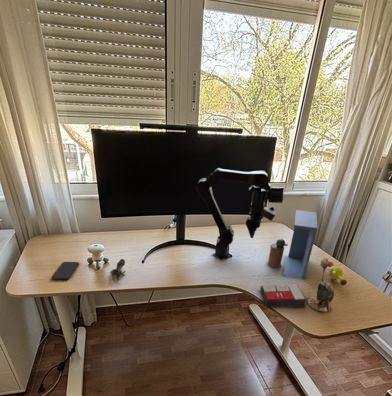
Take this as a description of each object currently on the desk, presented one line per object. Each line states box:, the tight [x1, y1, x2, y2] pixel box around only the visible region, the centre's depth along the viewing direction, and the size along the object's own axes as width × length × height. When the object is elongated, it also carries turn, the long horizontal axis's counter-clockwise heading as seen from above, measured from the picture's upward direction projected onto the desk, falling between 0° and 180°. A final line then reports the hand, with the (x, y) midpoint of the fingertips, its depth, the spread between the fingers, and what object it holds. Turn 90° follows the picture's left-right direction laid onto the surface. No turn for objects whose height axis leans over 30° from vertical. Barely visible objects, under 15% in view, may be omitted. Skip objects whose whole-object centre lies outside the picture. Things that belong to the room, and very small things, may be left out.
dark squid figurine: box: [109, 258, 126, 281], centre depth 127 cm, size 8×7×9 cm
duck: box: [267, 238, 289, 268], centre depth 137 cm, size 7×6×14 cm
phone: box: [51, 261, 80, 281], centre depth 129 cm, size 7×1×15 cm
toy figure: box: [327, 261, 348, 286], centre depth 128 cm, size 18×6×7 cm, turn 178°
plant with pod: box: [306, 257, 335, 313], centre depth 107 cm, size 8×11×20 cm
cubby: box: [283, 209, 319, 280], centre depth 133 cm, size 9×21×24 cm, turn 162°
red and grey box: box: [260, 283, 307, 309], centre depth 115 cm, size 11×4×15 cm
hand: (253, 234), depth 139 cm, fingers open, 9 cm apart
